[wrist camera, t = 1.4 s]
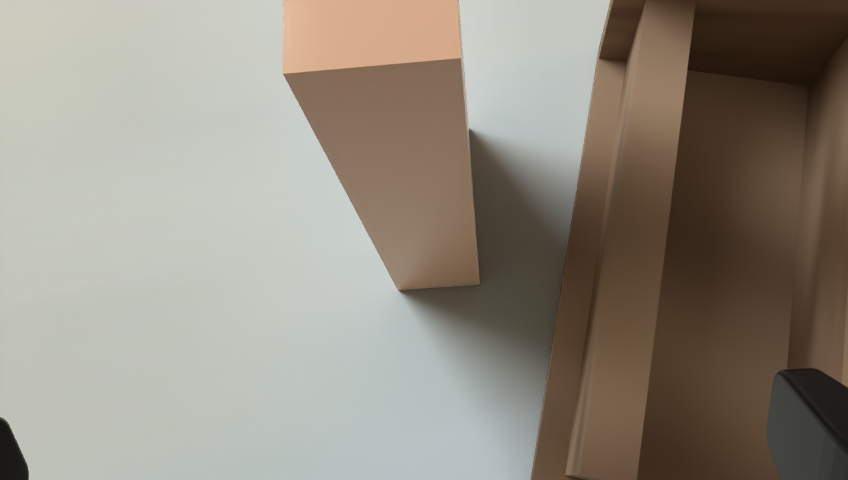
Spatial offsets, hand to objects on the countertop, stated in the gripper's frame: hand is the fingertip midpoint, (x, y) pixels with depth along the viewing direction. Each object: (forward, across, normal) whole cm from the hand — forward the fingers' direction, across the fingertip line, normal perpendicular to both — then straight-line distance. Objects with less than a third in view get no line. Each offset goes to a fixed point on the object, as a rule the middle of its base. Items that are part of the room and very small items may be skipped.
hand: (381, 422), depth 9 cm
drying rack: (+12, -8, +6) cm, 16 cm away
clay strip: (+14, 0, +4) cm, 15 cm away
